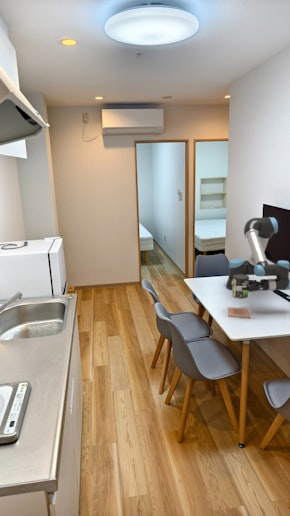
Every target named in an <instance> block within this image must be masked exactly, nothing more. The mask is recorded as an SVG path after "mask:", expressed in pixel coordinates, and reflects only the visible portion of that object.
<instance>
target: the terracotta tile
mask: <svg viewBox="0 0 290 516" xmlns="http://www.w3.org/2000/svg"><path fill="white" fill-rule="evenodd" d="M227 316H228V318H240V319H251V314H250V308H247V307H246V308H245V307H231V306H228V307H227Z"/></svg>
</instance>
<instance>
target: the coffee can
mask: <svg viewBox="0 0 290 516" xmlns="http://www.w3.org/2000/svg"><path fill="white" fill-rule="evenodd" d="M249 280H250V275H244V274H236V275H233V288H232V290H231V292H232V293H231V294H232V295H231V297H232V298H234V299H237V300H246V299H248V298H249V291H247V290H242V291H236V286H249V285H248V284H249Z"/></svg>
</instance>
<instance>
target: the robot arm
mask: <svg viewBox="0 0 290 516" xmlns="http://www.w3.org/2000/svg"><path fill="white" fill-rule="evenodd" d="M278 231H279V225H278V220H277V219H276V218H275V217H270V216H269V217H252V218H251V219H248V220H247V222H246V223H245V224H244V227H243V235H244V237H245V238H246V239H247V242H248V245H249V248H250V251H251V254H250V256H249V257H248V259H247V260H245V258H234V259H231V260H230V261H229V263H228V264H229V265H228V279H227V281H226V284H225V287H226V288H225V289H228V290H231V291H232V288H233V275H236V274H244V275H247V276H256V277H262V279H260V281H258V280H257V279H249V284H248V286H236V291H242V290H247V291H248V293H249V292H257V291H265V292H266V291H270V292H272V291H288V290H290V277H289V276H290V262H289V261H288V260H283V259H282V260H281V259H280V260H278V261H277V262H276V263H274V264H269V263H268V259H267V257H266V254H265V251H266V248H267V246H268V242H269V239H271V238H272V237H273V235H274V234H277V233H278ZM263 277H276V278H263Z"/></svg>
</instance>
